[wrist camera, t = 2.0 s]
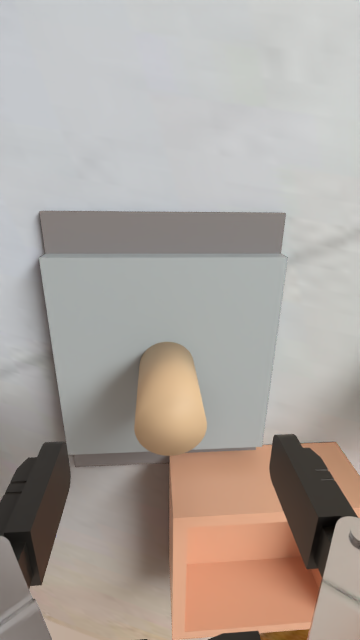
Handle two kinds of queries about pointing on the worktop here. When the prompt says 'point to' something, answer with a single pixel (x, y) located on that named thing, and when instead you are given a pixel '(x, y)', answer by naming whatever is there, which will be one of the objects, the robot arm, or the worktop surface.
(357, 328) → the worktop surface
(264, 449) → the dish
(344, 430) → the worktop surface
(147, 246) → the mat
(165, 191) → the worktop surface
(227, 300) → the lid
